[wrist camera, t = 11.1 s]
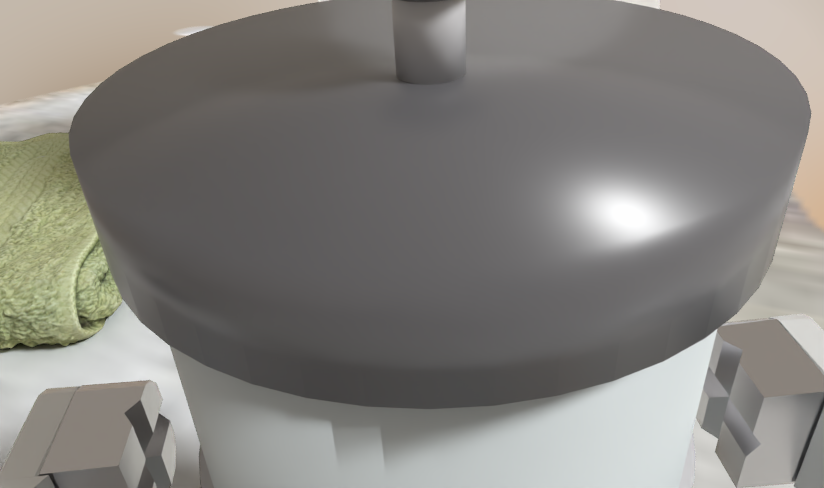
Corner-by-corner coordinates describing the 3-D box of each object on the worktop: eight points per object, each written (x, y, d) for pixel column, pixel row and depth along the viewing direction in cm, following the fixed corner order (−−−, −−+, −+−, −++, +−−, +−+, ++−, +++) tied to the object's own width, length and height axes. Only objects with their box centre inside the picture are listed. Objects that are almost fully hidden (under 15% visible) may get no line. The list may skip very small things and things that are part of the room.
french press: (682, 914, 12) (1295, -296, 3) (275, 973, 11) (-385, -204, 3) (548, 483, 19) (611, -231, 10) (298, 511, 19) (144, -205, 10)
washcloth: (189, 156, 41) (176, 105, 40) (116, 358, 27) (91, 290, 25) (-41, 178, 40) (-65, 126, 39) (-249, 398, 26) (-301, 330, 24)
